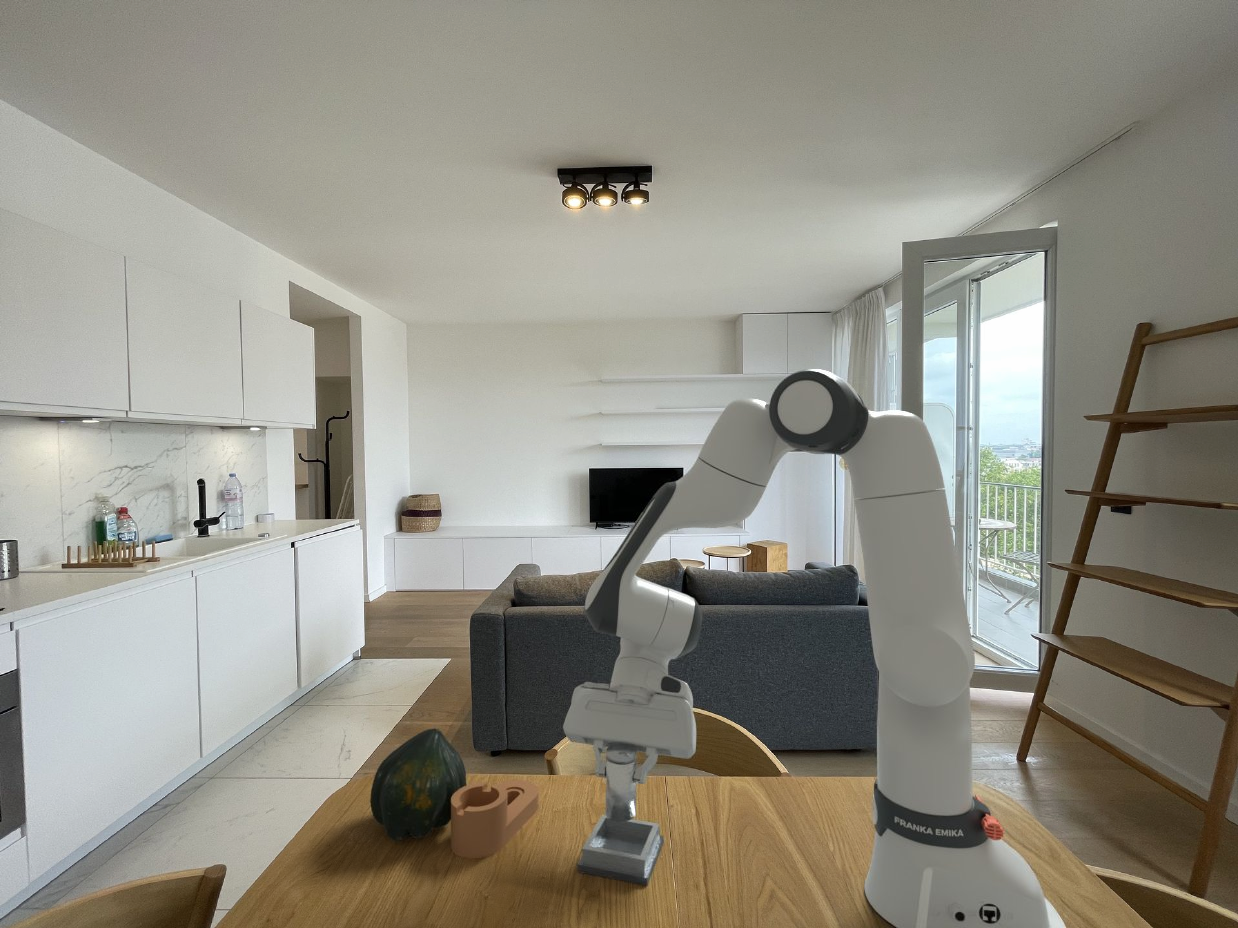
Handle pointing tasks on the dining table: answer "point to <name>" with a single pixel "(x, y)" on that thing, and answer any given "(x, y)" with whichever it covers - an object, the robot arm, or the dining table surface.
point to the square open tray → (622, 850)
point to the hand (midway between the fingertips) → (619, 778)
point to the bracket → (490, 816)
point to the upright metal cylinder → (620, 782)
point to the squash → (417, 786)
